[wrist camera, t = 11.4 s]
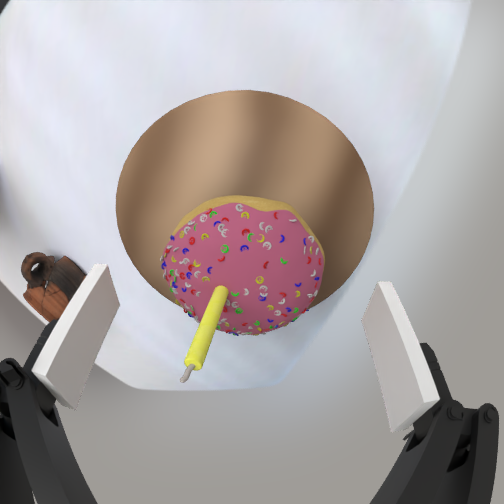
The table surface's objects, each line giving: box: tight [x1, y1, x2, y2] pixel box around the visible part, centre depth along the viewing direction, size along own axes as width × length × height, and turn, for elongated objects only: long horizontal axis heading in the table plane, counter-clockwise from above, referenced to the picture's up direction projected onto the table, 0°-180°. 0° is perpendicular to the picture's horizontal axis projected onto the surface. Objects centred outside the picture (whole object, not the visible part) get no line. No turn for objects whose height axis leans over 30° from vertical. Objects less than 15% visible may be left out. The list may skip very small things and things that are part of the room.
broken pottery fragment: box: [21, 252, 86, 322], centre depth 31 cm, size 12×10×8 cm
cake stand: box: [116, 90, 374, 310], centre depth 23 cm, size 18×18×9 cm
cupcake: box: [160, 195, 325, 383], centre depth 14 cm, size 9×8×12 cm
